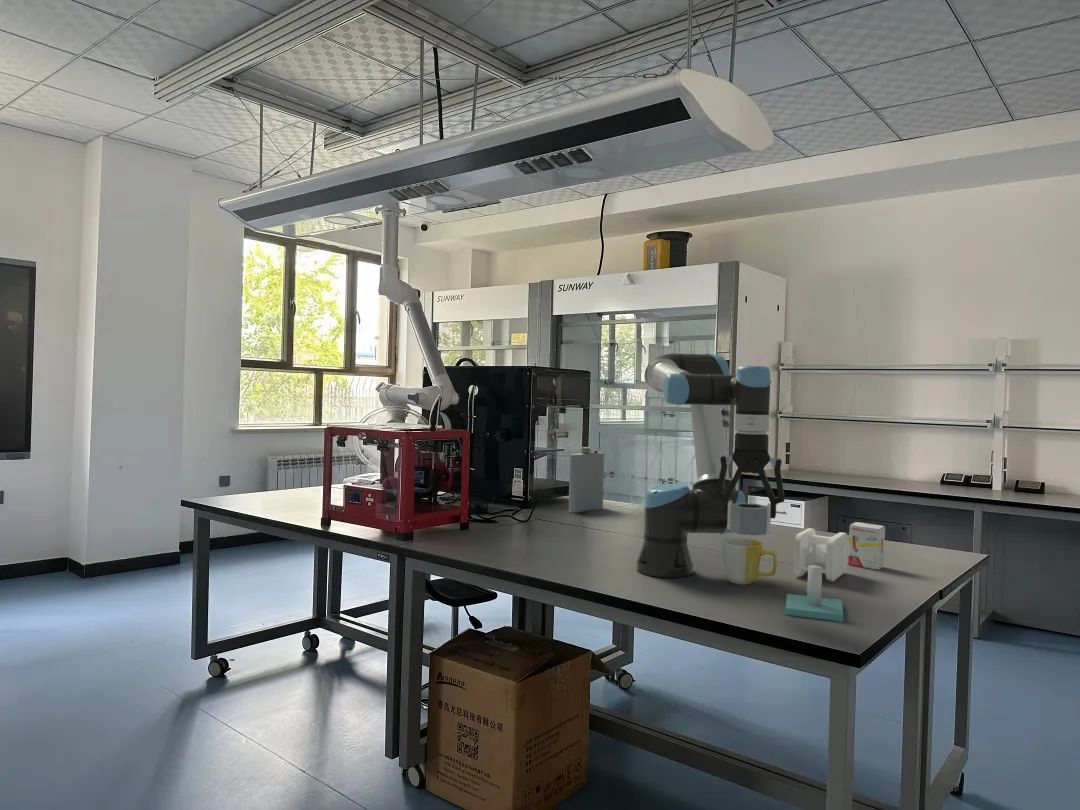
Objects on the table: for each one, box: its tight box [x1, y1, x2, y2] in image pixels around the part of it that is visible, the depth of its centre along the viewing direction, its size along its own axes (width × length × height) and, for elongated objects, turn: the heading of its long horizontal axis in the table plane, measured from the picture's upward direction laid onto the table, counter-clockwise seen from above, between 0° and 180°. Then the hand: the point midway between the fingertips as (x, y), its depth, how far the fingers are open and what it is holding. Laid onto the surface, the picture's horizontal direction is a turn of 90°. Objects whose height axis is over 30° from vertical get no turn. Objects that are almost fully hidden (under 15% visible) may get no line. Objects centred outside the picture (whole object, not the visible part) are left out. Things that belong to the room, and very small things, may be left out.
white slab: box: [568, 446, 605, 514], centre depth 295 cm, size 17×5×25 cm, turn 132°
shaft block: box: [784, 565, 844, 623], centre depth 169 cm, size 12×12×10 cm
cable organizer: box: [793, 527, 849, 583], centre depth 200 cm, size 15×11×12 cm
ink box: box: [847, 521, 886, 570], centre depth 212 cm, size 9×5×12 cm, turn 49°
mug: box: [721, 537, 778, 585], centre depth 191 cm, size 14×10×10 cm
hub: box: [730, 502, 767, 536], centre depth 172 cm, size 8×8×6 cm
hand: (748, 530), depth 173 cm, fingers closed on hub, 8 cm apart
